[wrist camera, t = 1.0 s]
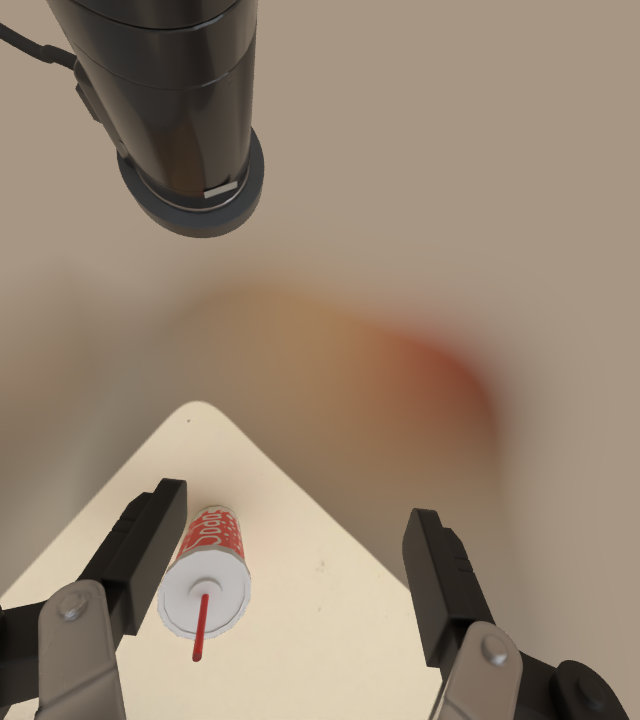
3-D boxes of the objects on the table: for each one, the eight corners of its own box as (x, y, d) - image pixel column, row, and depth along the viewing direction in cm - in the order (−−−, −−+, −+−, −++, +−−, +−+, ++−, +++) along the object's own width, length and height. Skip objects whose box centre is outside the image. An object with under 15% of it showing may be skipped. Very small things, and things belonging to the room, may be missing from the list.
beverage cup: (254, 501, 33) (265, 602, 19) (240, 566, 33) (241, 714, 19) (187, 493, 32) (149, 596, 18) (172, 561, 31) (122, 716, 18)
